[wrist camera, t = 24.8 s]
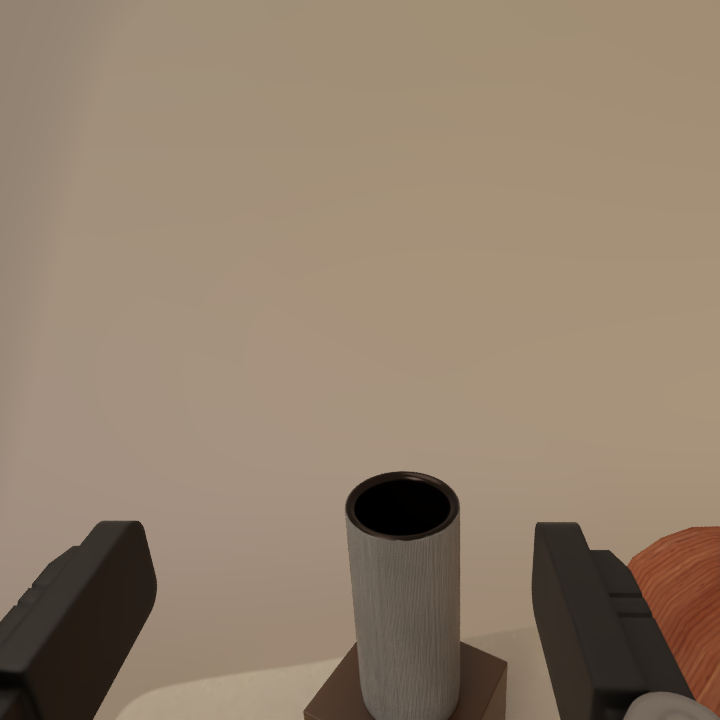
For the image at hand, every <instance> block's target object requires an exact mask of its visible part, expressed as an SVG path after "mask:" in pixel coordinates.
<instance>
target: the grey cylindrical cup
mask: <svg viewBox="0 0 720 720" xmlns="http://www.w3.org/2000/svg"><path fill="white" fill-rule="evenodd" d="M345 516H346V528H347V539H348V550H349V561H350V572H351V582H352V583H351V584H352V595H353V605H354V617H355V627H356V638H357V650H358V662H359V673H360V684H361V690H362V696H363V700H364V703H365V705H366V707H367V709H368V711H369V712H370V714H371V715H372V716H373V717H374V718H375V719H376V720H447V719H448V718H449V717H450V716H451V715H452V713H453V712H454V710H455V708H456V706H457V703H458V699H459V690H460V504H459V500H458V497H457V496H456V494H455V492H454V491H453V490H452V489H451V488H450V487H449V486H448V485H447V484H446V483H444V482H443V481H441V480H439V479H437V478H435V477H432V476H429V475H426V474H422V473H417V472H405V471H404V472H403V471H400V472H390V473H384V474H381V475H377V476H374V477H372V478H369V479H367V480H365V481H364V482H362V483H360V484H359V485H358V486H356V488H354V489H353V490H352V492H351V493H350V494H349V496H348V498H347V501H346V504H345Z"/></svg>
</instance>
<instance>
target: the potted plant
mask: <svg viewBox="0 0 720 720" xmlns="http://www.w3.org/2000/svg"><path fill="white" fill-rule="evenodd" d="M627 567H628V568H629V569H630V570H631V572H632V574H633V576H634V578H635V580H636V582H637V584H638V586H639V588H640V590H641V592H642V596H643V598H645V600H646V602H647V604H648V606H649V608H650V610H651V612H652V617H653V618H655V620H656V622H657V624H658V626H659V628H660V630H661V632H662V634H663V636H664V638H665V640H666V642H667V644H668V646H669V648H670V650H671V652H672V654H673V656H674V658H675V660H676V662H677V664H678V666H679V668H680V670H681V672H682V674H683V676H684V678H685V680H686V682H687V684H688V686H689V688H690V690H691V692H692V694H693V696H694V697H695V699H696V701H697V702H698V703H700V704H702V705H703V706H705V707H707V708H708V709H709V710H711V711H712V712H713V713H715V714H716V715H717V716H718V717H719V718H720V527H719V526H718V527H691V528H688V529H685V530H682V531H679V532H677V533H674V534H671V535H668V536H665V537H663V538H660V539H659V540H658V541H656V542H655V543H653V544H652V545H650V546H649V547H647V548H646V549H644V550H643V551H641V552H640V553H638V554H637V555H636V556H634V557H633V558H632V560H631V561H630V563H629V564H628V566H627Z"/></svg>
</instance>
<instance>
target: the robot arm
mask: <svg viewBox="0 0 720 720" xmlns="http://www.w3.org/2000/svg"><path fill="white" fill-rule="evenodd" d="M156 592H157V581H156V575H155V571H154V567H153V563H152V559H151V555H150V551H149V547H148V543H147V539H146V535H145V531H144V527H143V525H142V524H141V523H140V522H139V521H101V522H99V523H98V524H97V525H96V526H95V527H94V529H93V530H92V531H91V532H90V534H89V535H88V536H87V537H86V538H85V540H84V541H83V542H82V543H81V545H80V546H73V547H71V548H70V549H69V550H67V551H66V552H65V553H63V554H62V555H61V556H59V557H58V558H56V559H55V560H54V561H52V562H51V563H49V564H48V566H47V567H46V568H45V569H44V571H43V572H42V573H41V574H40V575H39V577H38V578H37V579H36V580H35V581H34V583H33V584H32V588H28V590H27V591H26V592H25V593H24V594H23V596H22V597H21V598H20V599H19V601H18V604H17V606H13V608H12V609H11V610H10V611H9V612H8V614H7V615H6V616H5V617H4V618H3V620H2V621H1V622H0V720H93V718H94V716H95V715H96V713H97V711H98V709H99V707H100V705H101V703H102V702H103V700H104V698H105V696H106V694H107V692H108V691H109V689H110V687H111V685H112V683H113V681H114V679H115V678H116V676H117V674H118V672H119V670H120V668H121V666H122V665H123V663H124V661H125V659H126V657H127V655H128V654H129V652H130V650H131V648H132V646H133V644H134V642H135V640H136V639H137V637H138V635H139V633H140V631H141V629H142V628H143V626H144V624H145V622H146V620H147V618H148V616H149V614H150V613H151V611H152V608H153V606H154V602H155V598H156ZM532 600H533V601H532V602H533V609H534V615H535V620H536V624H537V628H538V632H539V636H540V640H541V644H542V648H543V652H544V656H545V660H546V664H547V668H548V671H549V675H550V679H551V683H552V687H553V691H554V695H555V699H556V703H557V707H558V711H559V715H560V719H561V720H720V718H719V717H718V716H717V715H716V714H715V713H713V712H712V711H711V710H709V709H708V708H707V707H705V706H703V705H702V704H700V703H698V702H697V701H696V699H695V697H694V696H693V694H692V692H691V690H690V688H689V686H688V684H687V682H686V680H685V678H684V676H683V674H682V672H681V670H680V668H679V666H678V664H677V662H676V660H675V658H674V656H673V654H672V652H671V650H670V648H669V646H668V644H667V642H666V640H665V638H664V636H663V634H662V632H661V630H660V628H659V626H658V624H657V622H656V620H655V618H653V617H652V612H651V610H650V608H649V606H648V604H647V602H646V600H645V598H643V596H642V592H641V590H640V588H639V586H638V584H637V582H636V580H635V578H634V576H633V574H632V572H631V570H630V569H629V568H628V567H627V566H625V565H624V564H623V563H622V562H621V561H620V560H619V559H618V558H617V557H616V556H615V555H614V554H613V553H612V552H611V551H609V550H590V549H589V547H588V545H587V542H586V540H585V537H584V535H583V533H582V530H581V528H580V526H579V525H578V523H576V522H538V523H537V524H536V527H535V539H534V555H533V571H532Z"/></svg>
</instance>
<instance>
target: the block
mask: <svg viewBox="0 0 720 720" xmlns="http://www.w3.org/2000/svg"><path fill="white" fill-rule="evenodd" d="M507 664H508V663H507V662H506V661H504V660H502V659H499V658H497V657H495V656H493V655H490V654H488V653H486V652H483V651H481V650H479V649H477V648H474V647H472V646H470V645H468V644H465V643H463V642H461V641H460V690H459V699H458V703H457V706H456V708H455V710H454V712H453V713H452V715H451V716H450V717H449V718H448V719H447V720H505V714H506V689H507ZM303 713H304V719H305V720H376V719H375V718H374V717H373V716H372V715H371V714H370V712H369V711H368V709H367V707H366V705H365V703H364V700H363V696H362V690H361V684H360V673H359V662H358V650H357V642H356V643H355V644H354V646H353V647H352V648H351V650H350V651H349V652H348V653H347V655H346V656H345V657H344V659H343V660H342V661H341V663H340V664H339V665H338V667H337V668H336V669H335V671H334V672H333V673H332V674H331V676H330V677H329V678H328V680H327V681H326V682H325V684H324V685H323V686H322V688H321V689H320V690H319V691H318V693H317V694H316V695H315V697H314V698H313V699H312V701H311V702H310V703H309V705H308V706H307V707H306V709H305V710H304V712H303Z"/></svg>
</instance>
